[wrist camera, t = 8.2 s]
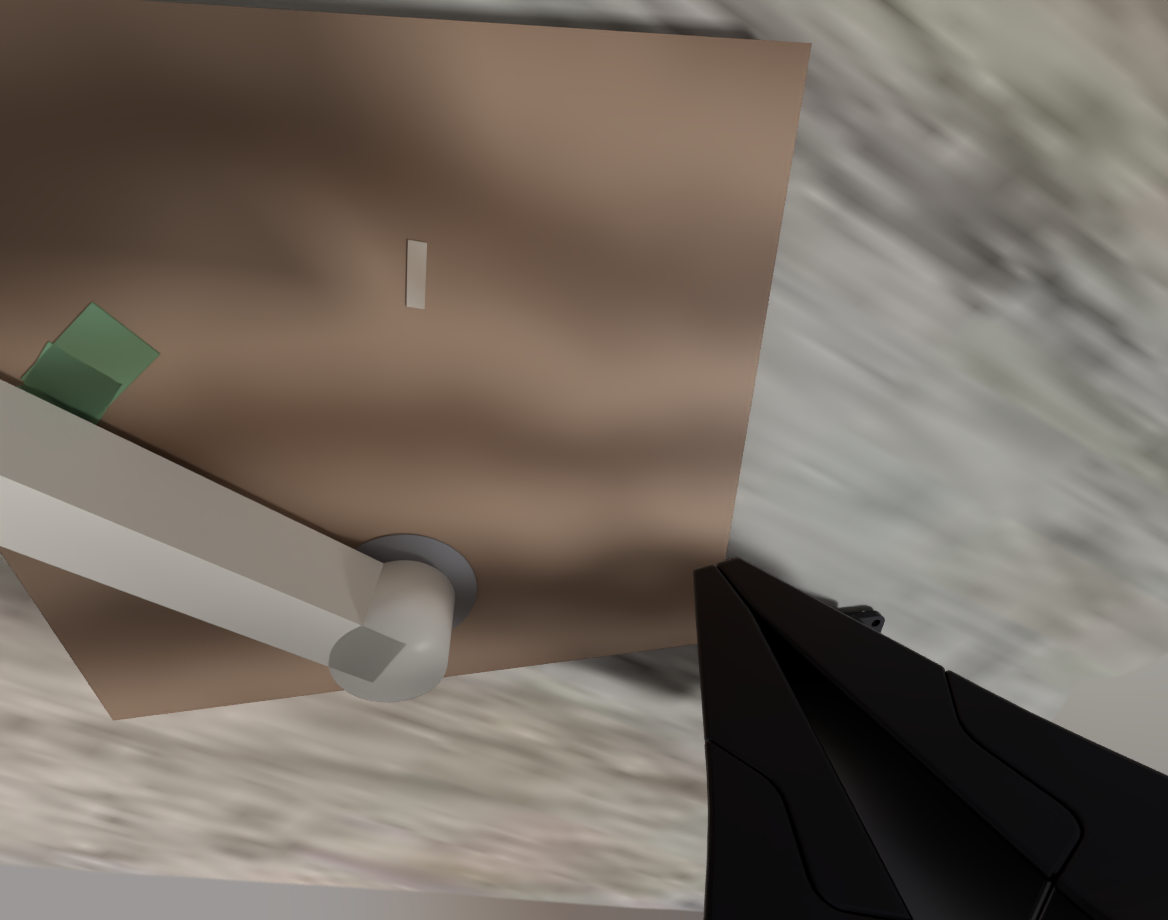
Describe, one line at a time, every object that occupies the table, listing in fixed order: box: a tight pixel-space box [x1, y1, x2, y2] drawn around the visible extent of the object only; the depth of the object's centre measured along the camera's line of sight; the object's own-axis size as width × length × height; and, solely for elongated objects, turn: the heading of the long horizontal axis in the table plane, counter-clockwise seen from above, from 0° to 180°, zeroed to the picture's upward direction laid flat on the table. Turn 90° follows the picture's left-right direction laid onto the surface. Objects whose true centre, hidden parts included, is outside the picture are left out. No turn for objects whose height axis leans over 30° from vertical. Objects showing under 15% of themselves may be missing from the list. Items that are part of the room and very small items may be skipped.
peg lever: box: [0, 379, 455, 702], centre depth 14 cm, size 16×4×3 cm, turn 50°
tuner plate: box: [0, 0, 812, 720], centre depth 16 cm, size 22×25×2 cm
